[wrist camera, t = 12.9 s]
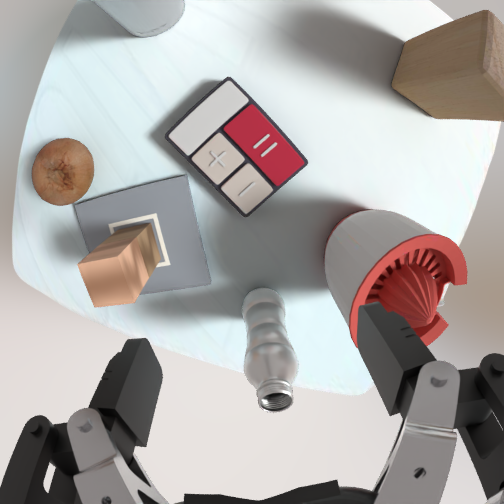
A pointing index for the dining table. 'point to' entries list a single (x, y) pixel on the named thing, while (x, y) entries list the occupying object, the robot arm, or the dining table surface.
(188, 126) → the calculator
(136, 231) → the walnut block
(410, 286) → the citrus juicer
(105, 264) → the terracotta block
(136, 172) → the dining table surface
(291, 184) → the dining table surface
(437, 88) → the wooden block
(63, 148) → the onion
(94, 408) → the robot arm
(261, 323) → the plastic bottle
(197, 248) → the grey flat plate
